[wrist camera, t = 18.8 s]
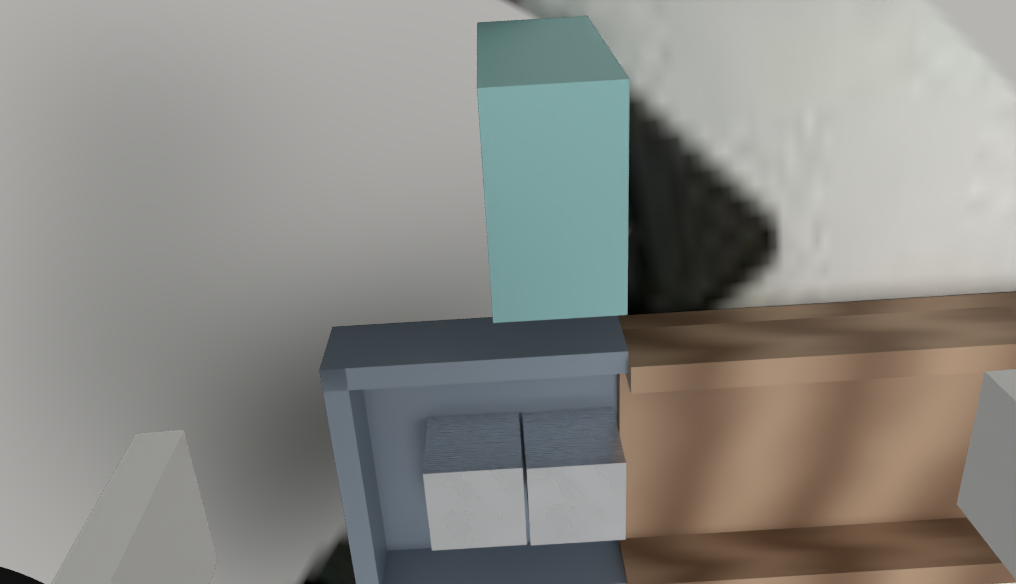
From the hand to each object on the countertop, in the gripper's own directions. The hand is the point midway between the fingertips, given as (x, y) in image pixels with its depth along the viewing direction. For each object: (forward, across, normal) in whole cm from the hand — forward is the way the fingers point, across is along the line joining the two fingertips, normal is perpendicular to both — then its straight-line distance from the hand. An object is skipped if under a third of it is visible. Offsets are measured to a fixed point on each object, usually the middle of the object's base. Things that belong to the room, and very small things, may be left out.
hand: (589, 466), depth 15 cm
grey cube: (+21, -2, -15) cm, 26 cm away
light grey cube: (+21, +2, -15) cm, 26 cm away
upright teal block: (+21, +1, 0) cm, 21 cm away
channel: (+21, +13, -15) cm, 29 cm away
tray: (+21, -2, -15) cm, 26 cm away
